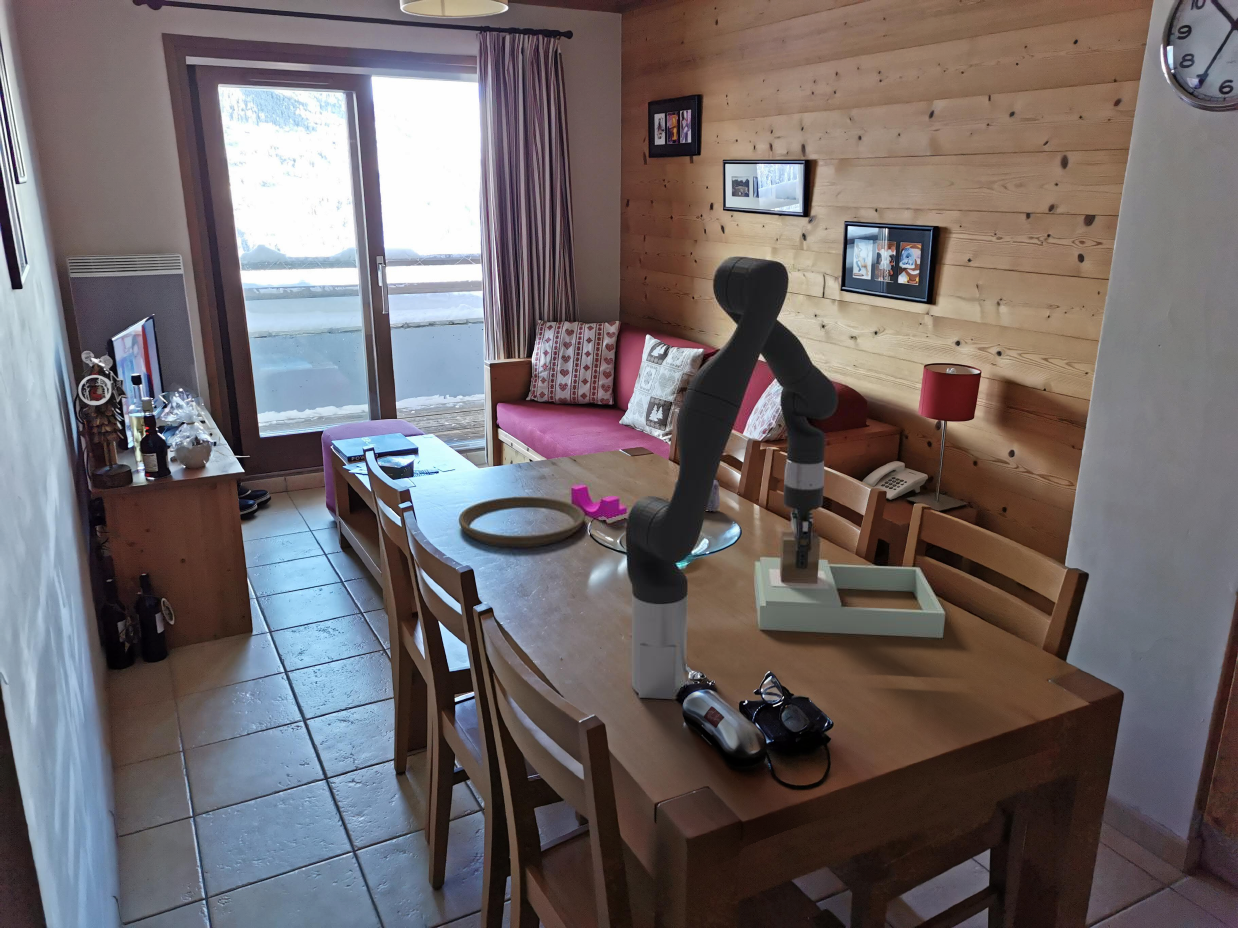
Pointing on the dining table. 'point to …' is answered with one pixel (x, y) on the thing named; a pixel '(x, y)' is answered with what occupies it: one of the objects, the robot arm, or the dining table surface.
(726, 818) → the dining table surface
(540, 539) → the brown flat ring
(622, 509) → the toy block
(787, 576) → the wood block
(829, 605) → the box
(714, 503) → the stone block
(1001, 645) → the dining table surface
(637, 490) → the dining table surface
